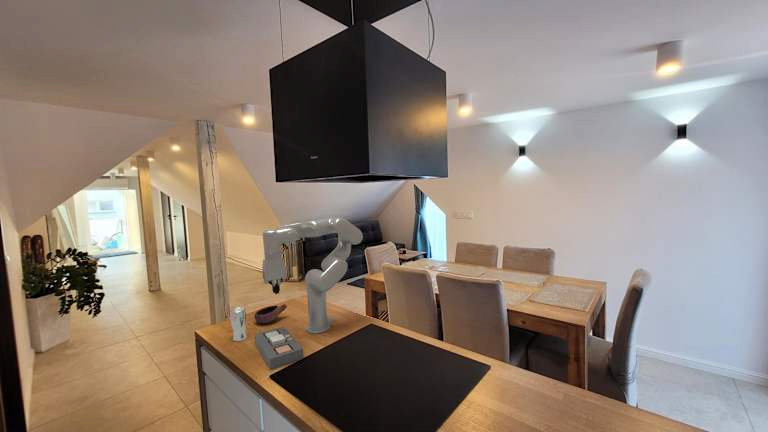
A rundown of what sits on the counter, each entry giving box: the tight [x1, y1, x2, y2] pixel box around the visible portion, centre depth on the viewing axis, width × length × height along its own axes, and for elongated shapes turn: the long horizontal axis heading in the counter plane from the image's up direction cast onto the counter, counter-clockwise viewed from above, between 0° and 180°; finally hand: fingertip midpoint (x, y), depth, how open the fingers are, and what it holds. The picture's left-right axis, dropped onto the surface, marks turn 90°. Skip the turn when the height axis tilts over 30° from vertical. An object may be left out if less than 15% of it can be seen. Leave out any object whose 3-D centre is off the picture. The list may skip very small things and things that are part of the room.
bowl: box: [253, 303, 288, 324], centre depth 178 cm, size 16×13×8 cm
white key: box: [269, 334, 285, 346], centre depth 145 cm, size 6×6×3 cm
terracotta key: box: [275, 345, 292, 355], centre depth 137 cm, size 6×6×3 cm
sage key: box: [265, 331, 280, 339], centre depth 152 cm, size 6×6×3 cm
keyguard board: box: [253, 326, 304, 370], centre depth 145 cm, size 14×28×5 cm, turn 34°
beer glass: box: [230, 306, 248, 342], centre depth 157 cm, size 7×7×15 cm
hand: (276, 293), depth 151 cm, fingers closed
